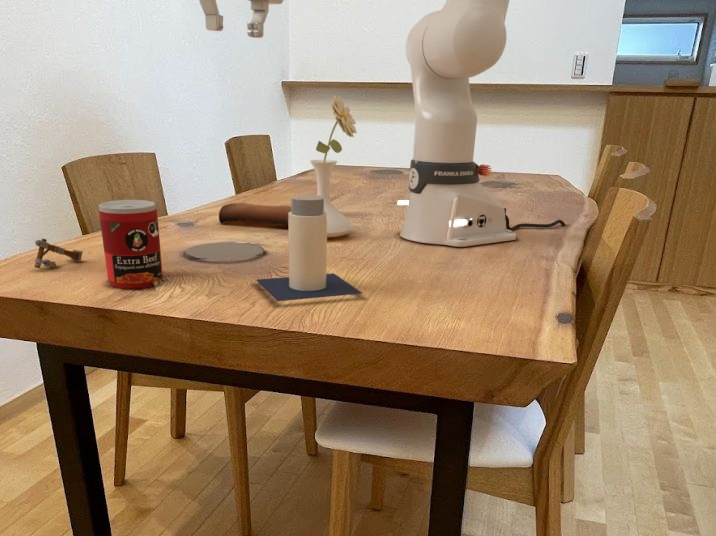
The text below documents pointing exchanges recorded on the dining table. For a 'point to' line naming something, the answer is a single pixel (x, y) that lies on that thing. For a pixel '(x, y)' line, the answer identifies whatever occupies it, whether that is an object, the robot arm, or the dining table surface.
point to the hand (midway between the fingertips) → (235, 34)
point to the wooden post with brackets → (42, 244)
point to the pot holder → (284, 292)
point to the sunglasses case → (254, 213)
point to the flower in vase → (323, 169)
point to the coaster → (223, 250)
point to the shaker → (307, 243)
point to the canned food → (131, 243)
